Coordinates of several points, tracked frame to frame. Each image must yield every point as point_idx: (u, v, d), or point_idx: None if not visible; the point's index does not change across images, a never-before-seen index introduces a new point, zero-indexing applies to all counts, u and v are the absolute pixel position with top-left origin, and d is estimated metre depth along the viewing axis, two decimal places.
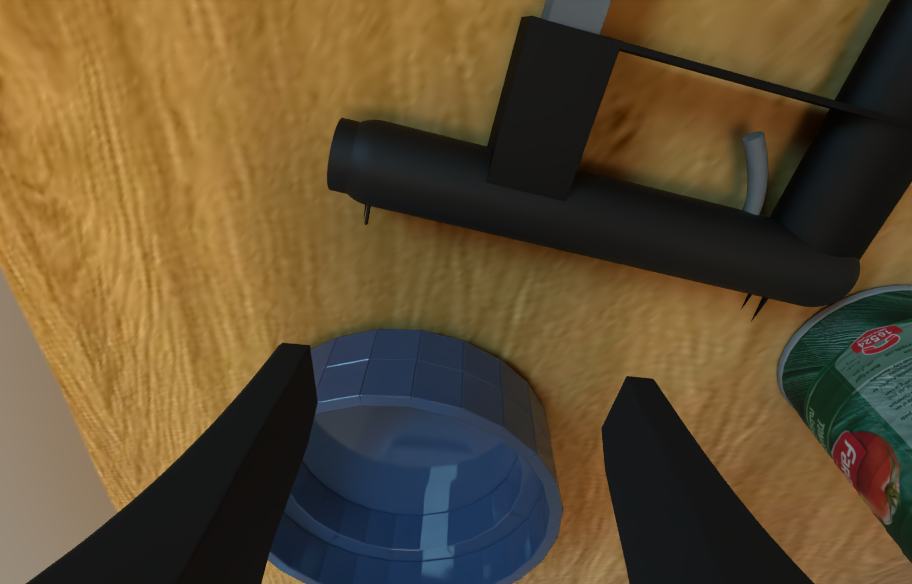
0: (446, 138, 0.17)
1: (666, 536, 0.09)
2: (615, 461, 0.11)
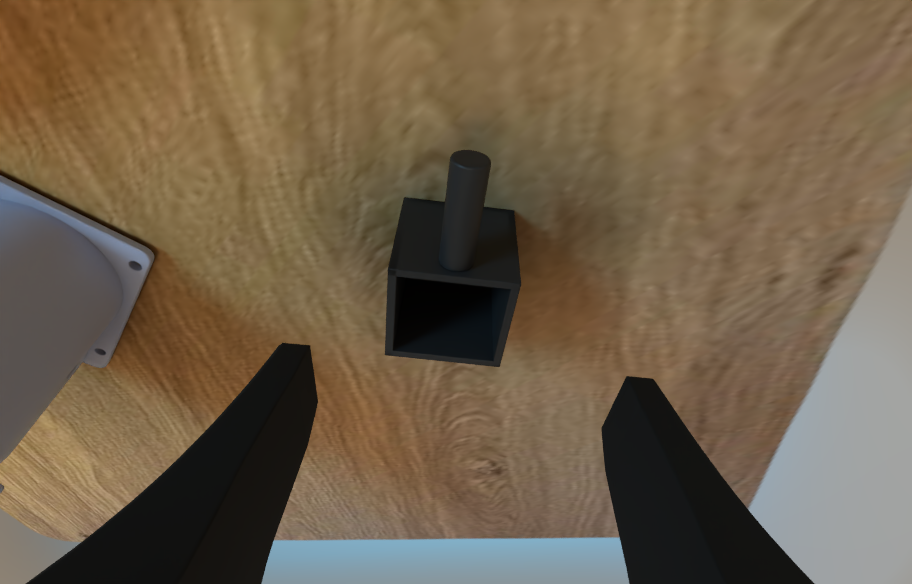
0: None
1: (666, 536, 0.09)
2: (615, 461, 0.11)
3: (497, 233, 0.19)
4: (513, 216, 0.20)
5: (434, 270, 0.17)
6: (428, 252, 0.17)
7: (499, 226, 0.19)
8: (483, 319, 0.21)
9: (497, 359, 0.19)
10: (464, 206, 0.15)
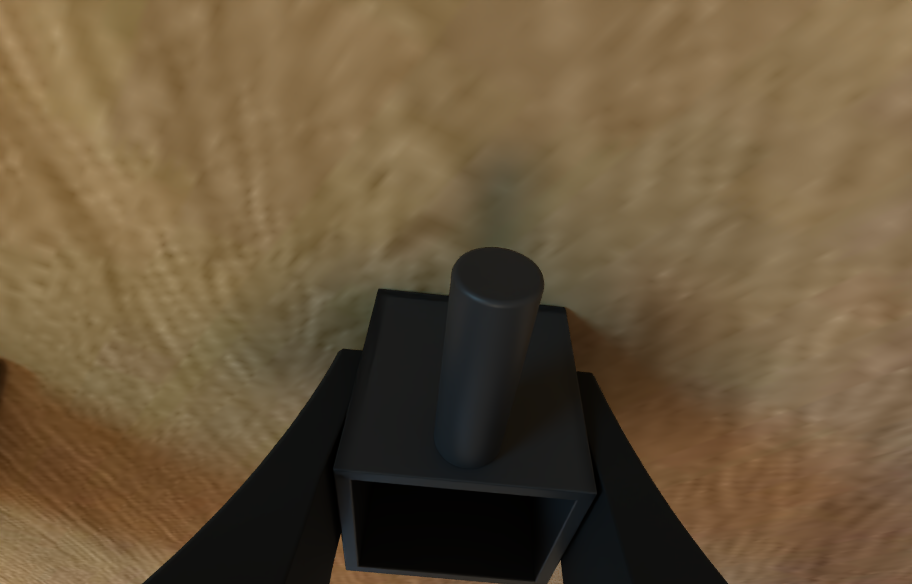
0: None
1: (589, 529, 0.09)
2: None
3: (541, 363, 0.10)
4: (565, 320, 0.12)
5: (424, 467, 0.08)
6: (414, 418, 0.09)
7: (543, 345, 0.11)
8: None
9: (542, 579, 0.11)
10: (483, 372, 0.07)
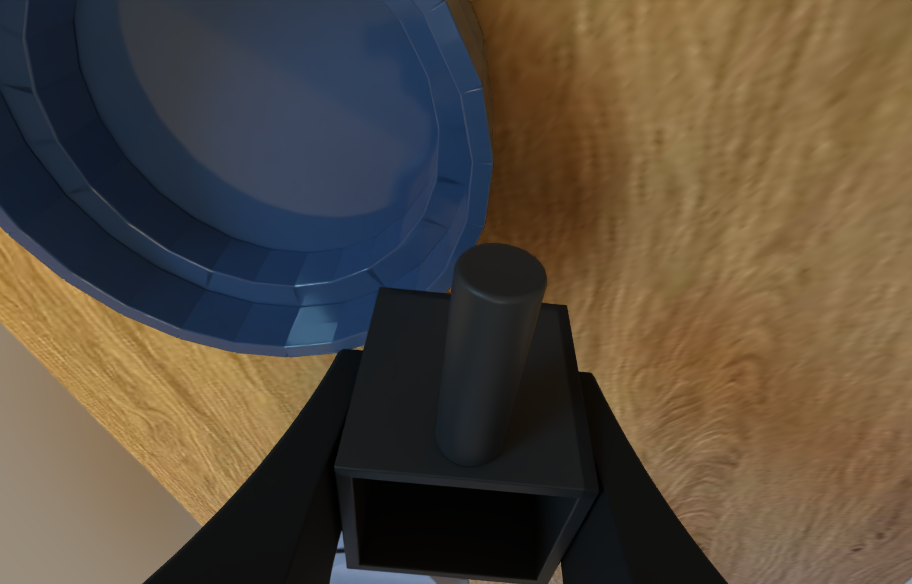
0: None
1: (589, 529, 0.09)
2: None
3: (542, 360, 0.10)
4: (567, 318, 0.11)
5: (425, 465, 0.08)
6: (416, 416, 0.09)
7: (545, 342, 0.11)
8: None
9: (544, 578, 0.11)
10: (485, 369, 0.07)
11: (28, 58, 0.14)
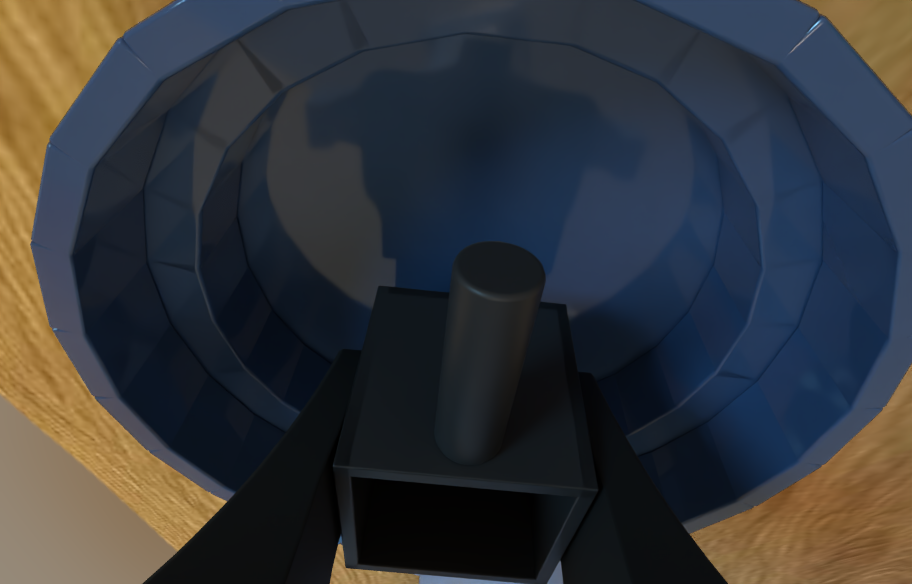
0: None
1: (589, 529, 0.09)
2: None
3: (542, 359, 0.10)
4: (566, 317, 0.11)
5: (424, 464, 0.08)
6: (415, 414, 0.09)
7: (544, 341, 0.11)
8: None
9: (543, 577, 0.11)
10: (484, 367, 0.07)
11: (199, 233, 0.10)
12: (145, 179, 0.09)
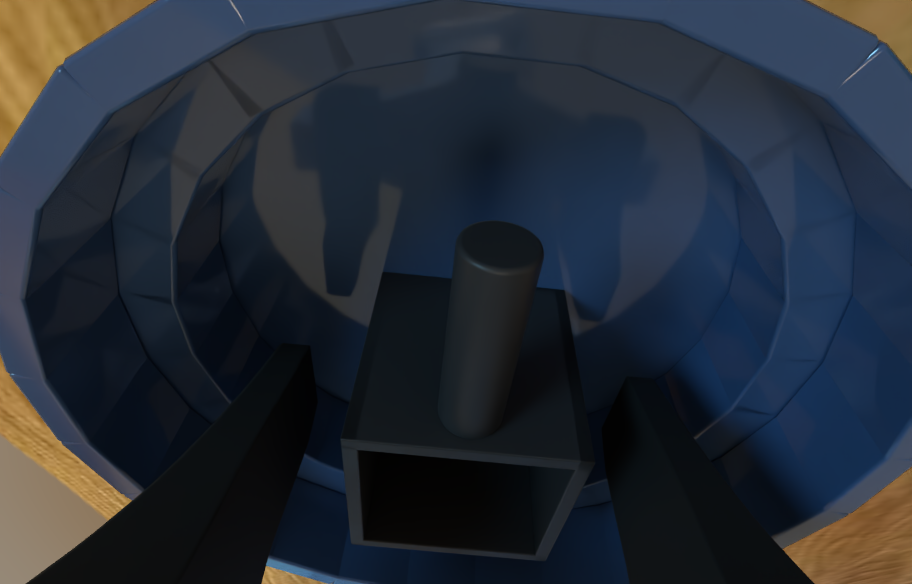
0: None
1: (666, 536, 0.09)
2: (615, 461, 0.11)
3: (541, 341, 0.11)
4: (565, 302, 0.12)
5: (428, 437, 0.09)
6: (419, 392, 0.09)
7: (543, 325, 0.11)
8: None
9: (542, 553, 0.11)
10: (486, 340, 0.07)
11: (174, 264, 0.09)
12: (113, 208, 0.09)
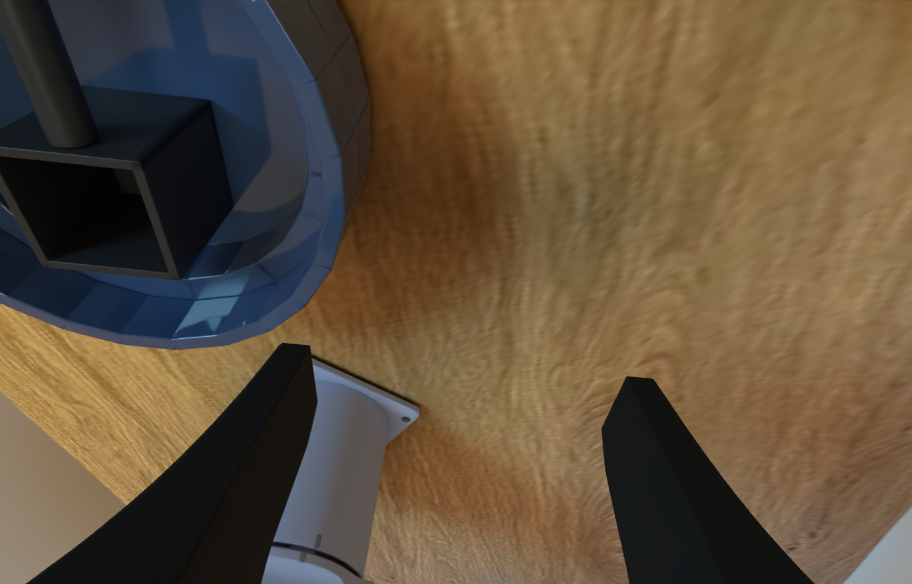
0: None
1: (666, 536, 0.09)
2: (615, 461, 0.11)
3: (162, 118, 0.16)
4: (202, 104, 0.17)
5: (34, 146, 0.14)
6: None
7: (173, 112, 0.16)
8: None
9: (172, 270, 0.16)
10: (16, 50, 0.12)
11: None
12: None
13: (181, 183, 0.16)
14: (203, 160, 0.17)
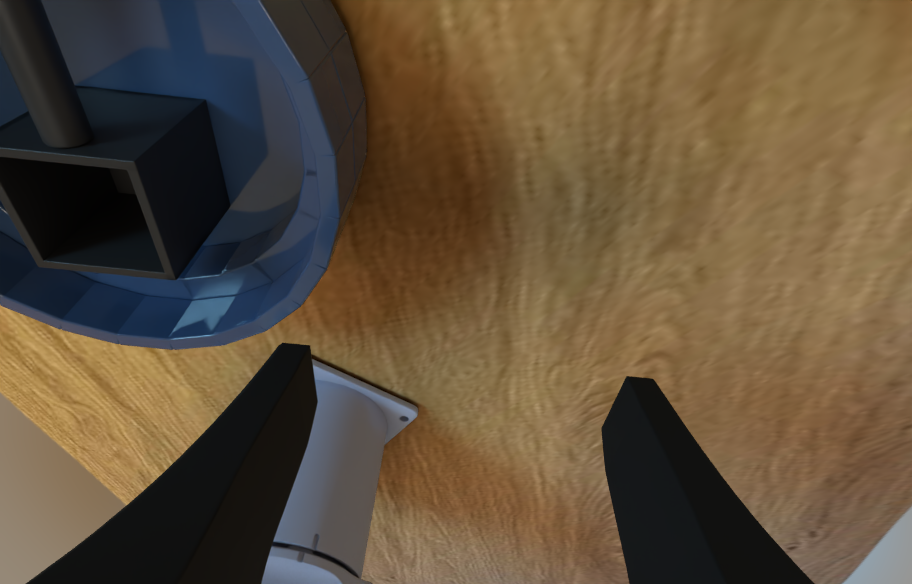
0: None
1: (666, 536, 0.09)
2: (615, 461, 0.11)
3: (157, 118, 0.16)
4: (198, 104, 0.17)
5: (29, 146, 0.14)
6: None
7: (168, 112, 0.16)
8: None
9: (167, 270, 0.16)
10: (9, 49, 0.12)
11: None
12: None
13: (176, 183, 0.16)
14: (199, 160, 0.17)
